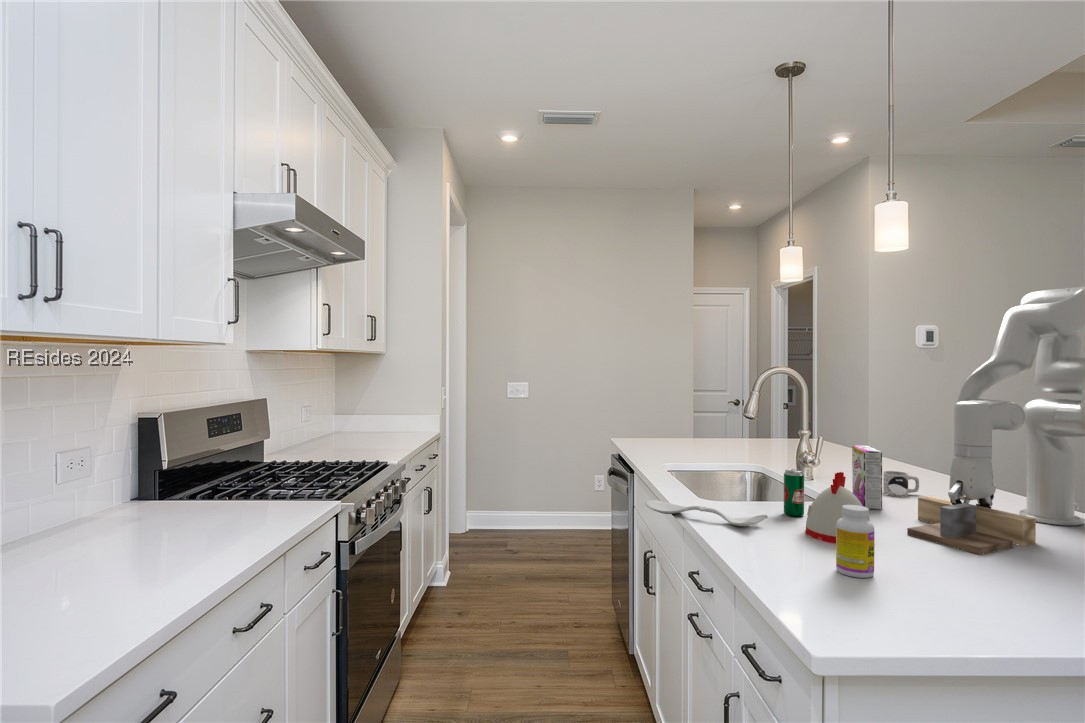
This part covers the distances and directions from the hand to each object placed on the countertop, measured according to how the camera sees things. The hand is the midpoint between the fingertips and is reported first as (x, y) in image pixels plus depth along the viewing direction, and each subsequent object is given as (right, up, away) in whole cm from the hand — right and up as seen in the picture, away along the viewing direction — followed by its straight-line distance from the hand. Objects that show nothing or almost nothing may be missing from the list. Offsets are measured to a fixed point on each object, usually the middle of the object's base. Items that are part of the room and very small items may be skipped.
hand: (972, 522), depth 145 cm
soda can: (-38, -2, +14) cm, 40 cm away
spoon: (-64, -2, +10) cm, 65 cm away
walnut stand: (-9, -2, -8) cm, 13 cm away
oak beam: (0, -2, 0) cm, 2 cm away
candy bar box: (-12, -2, +25) cm, 28 cm away
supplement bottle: (-44, -2, -29) cm, 53 cm away
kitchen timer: (-35, -2, -4) cm, 36 cm away
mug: (+6, -2, +39) cm, 39 cm away
